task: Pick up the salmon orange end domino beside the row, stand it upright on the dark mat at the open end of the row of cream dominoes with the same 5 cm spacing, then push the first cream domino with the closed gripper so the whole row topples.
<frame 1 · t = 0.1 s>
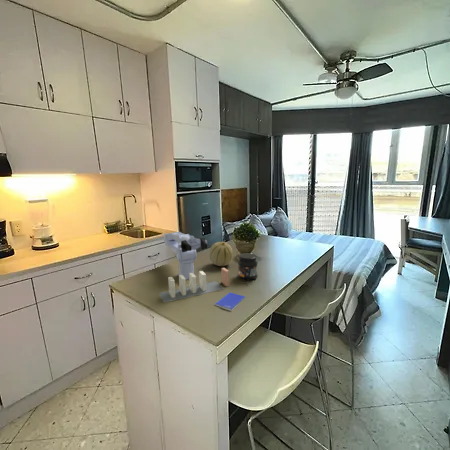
hand: (198, 247, 115), 22 cm above the countertop, tool horizontal, fingers open, 7 cm apart
beige rounded lump: (221, 265, 154), on the countertop
domino 3: (193, 290, 119), resting on domino mat
domino 2: (182, 292, 117), resting on domino mat
domino mat: (192, 291, 119), on the countertop
domino 4: (202, 288, 121), resting on domino mat
supplement container: (247, 277, 135), on the countertop
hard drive: (230, 303, 109), on the countertop
salmon orange end domino: (225, 284, 126), on the countertop
domino 1: (172, 295, 115), resting on domino mat
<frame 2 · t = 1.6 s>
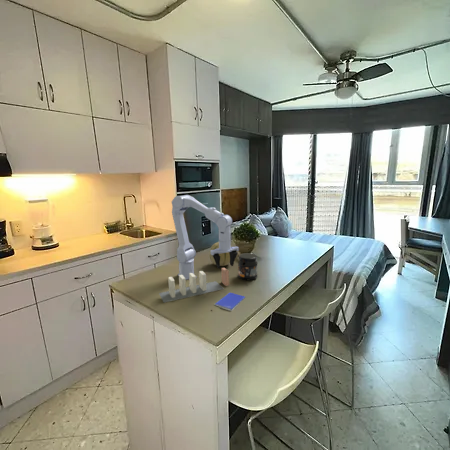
hand: (225, 266, 124), 9 cm above the countertop, tool pointing down, fingers open, 7 cm apart
nothing on the countertop moved.
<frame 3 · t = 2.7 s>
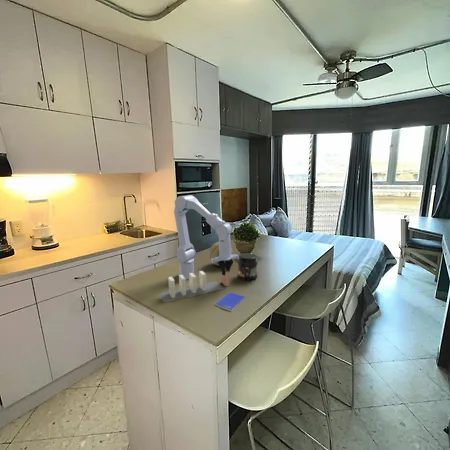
hand: (225, 274, 125), 5 cm above the countertop, tool pointing down, fingers closed on salmon orange end domino, 1 cm apart
salmon orange end domino: (225, 285, 126), on the countertop, touching gripper
everything else where it was.
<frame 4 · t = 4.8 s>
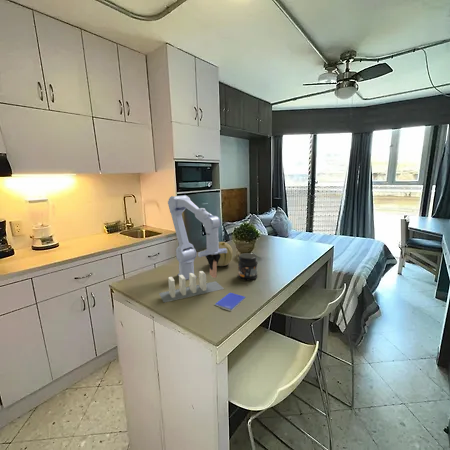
hand: (213, 268, 122), 9 cm above the countertop, tool pointing down, fingers closed on salmon orange end domino
salmon orange end domino: (213, 275, 123), point 6 cm above the countertop, touching gripper
everything else where it was.
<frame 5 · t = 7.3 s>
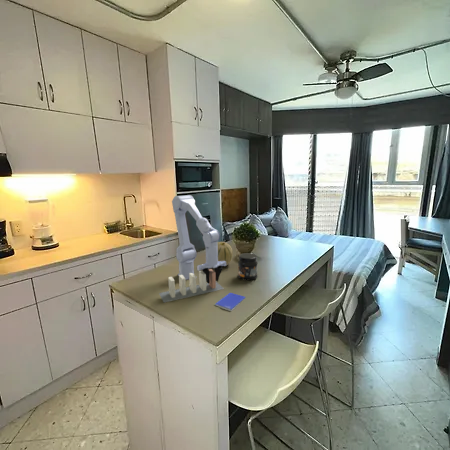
hand: (212, 281, 123), 3 cm above the countertop, tool pointing down, fingers open, 4 cm apart
domino 4: (202, 288, 121), resting on domino mat, touching gripper
salmon orange end domino: (212, 286, 123), resting on domino mat
everything else where it was.
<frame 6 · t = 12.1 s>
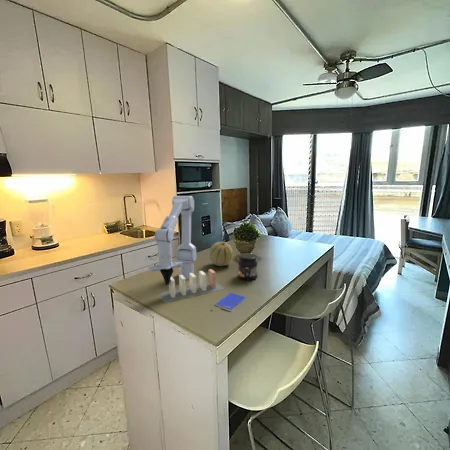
hand: (167, 284, 113), 6 cm above the countertop, tool pointing down, fingers closed
domino 4: (202, 288, 121), resting on domino mat
domino 1: (172, 295, 115), resting on domino mat, touching gripper
everything else where it was.
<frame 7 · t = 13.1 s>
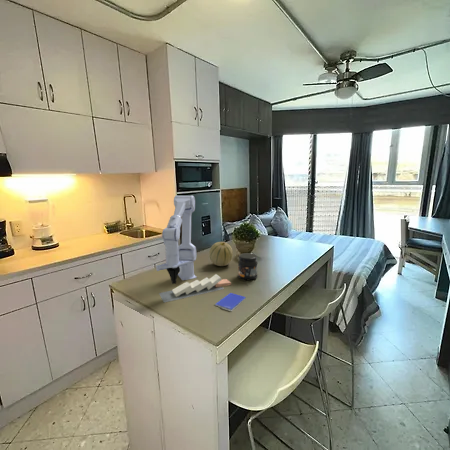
hand: (173, 282, 114), 6 cm above the countertop, tool pointing down, fingers closed
domino 3: (194, 288, 119), point 1 cm above the countertop, tilted 70°, touching domino mat
domino 2: (184, 291, 117), point 1 cm above the countertop, tilted 71°, touching domino 1, domino mat
domino 4: (205, 286, 122), point 1 cm above the countertop, tilted 63°, touching domino mat
salmon orange end domino: (214, 283, 124), point 1 cm above the countertop, tilted 96°, touching domino mat
domino 1: (174, 293, 115), point 1 cm above the countertop, tilted 71°, touching domino 2, domino mat
everything else where it was.
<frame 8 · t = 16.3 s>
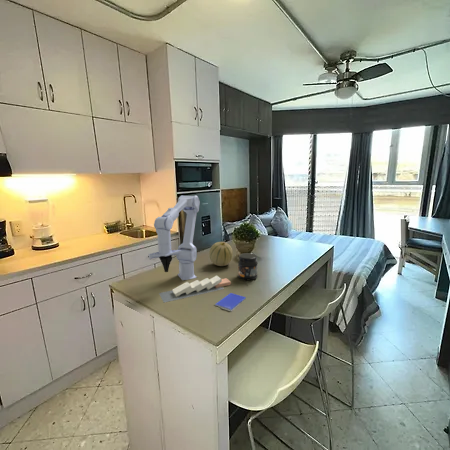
hand: (166, 271, 117), 10 cm above the countertop, tool pointing down, fingers closed
domino 3: (195, 288, 119), point 1 cm above the countertop, tilted 71°, touching domino 2, domino 4, domino mat
domino 2: (184, 291, 117), point 1 cm above the countertop, tilted 72°, touching domino 1, domino 3, domino mat
domino 4: (205, 286, 121), point 1 cm above the countertop, tilted 70°, touching domino 3, domino mat, salmon orange end domino
salmon orange end domino: (213, 284, 124), point 1 cm above the countertop, tilted 90°, touching domino 4, domino mat
everything else where it was.
at the end: salmon orange end domino inside the target area (0.3 cm from its centre), point 1.2 cm above the countertop; salmon orange end domino tilted 90°; domino 4 tilted 70° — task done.
